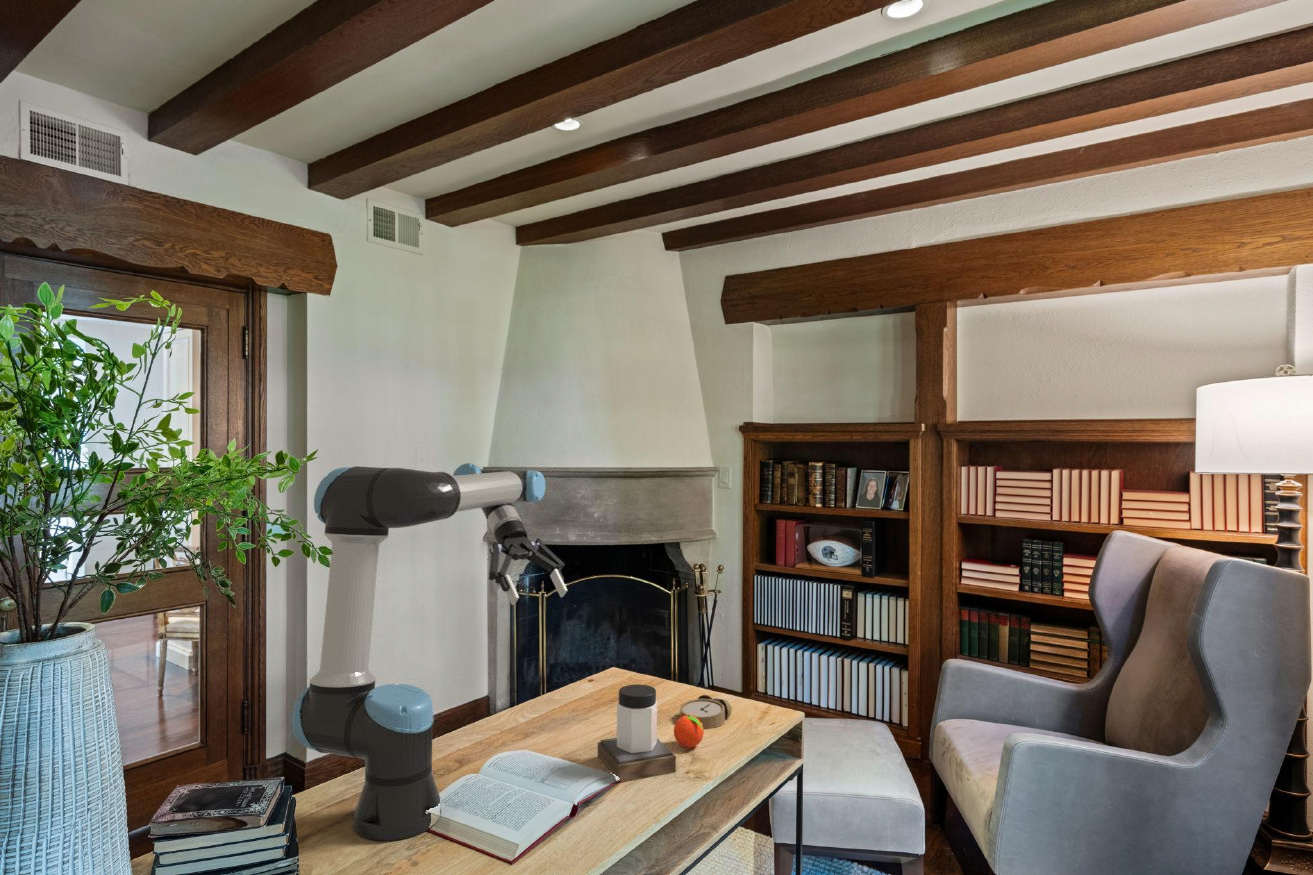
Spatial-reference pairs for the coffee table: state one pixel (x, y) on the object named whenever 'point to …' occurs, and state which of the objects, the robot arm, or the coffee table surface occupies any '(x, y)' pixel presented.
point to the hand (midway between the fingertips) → (540, 597)
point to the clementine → (688, 731)
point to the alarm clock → (707, 710)
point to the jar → (637, 718)
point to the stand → (636, 760)
